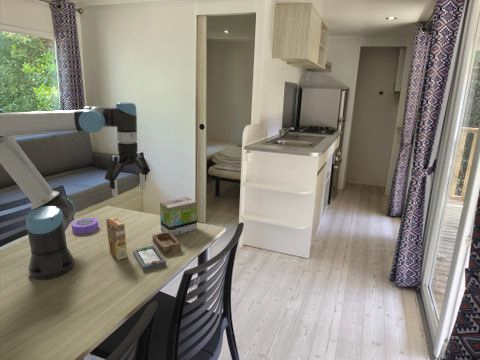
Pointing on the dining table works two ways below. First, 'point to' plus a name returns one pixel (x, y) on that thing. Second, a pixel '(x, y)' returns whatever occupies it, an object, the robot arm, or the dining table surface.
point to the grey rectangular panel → (148, 256)
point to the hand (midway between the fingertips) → (129, 192)
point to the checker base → (154, 263)
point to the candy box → (116, 238)
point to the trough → (166, 242)
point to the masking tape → (84, 225)
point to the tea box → (178, 215)
